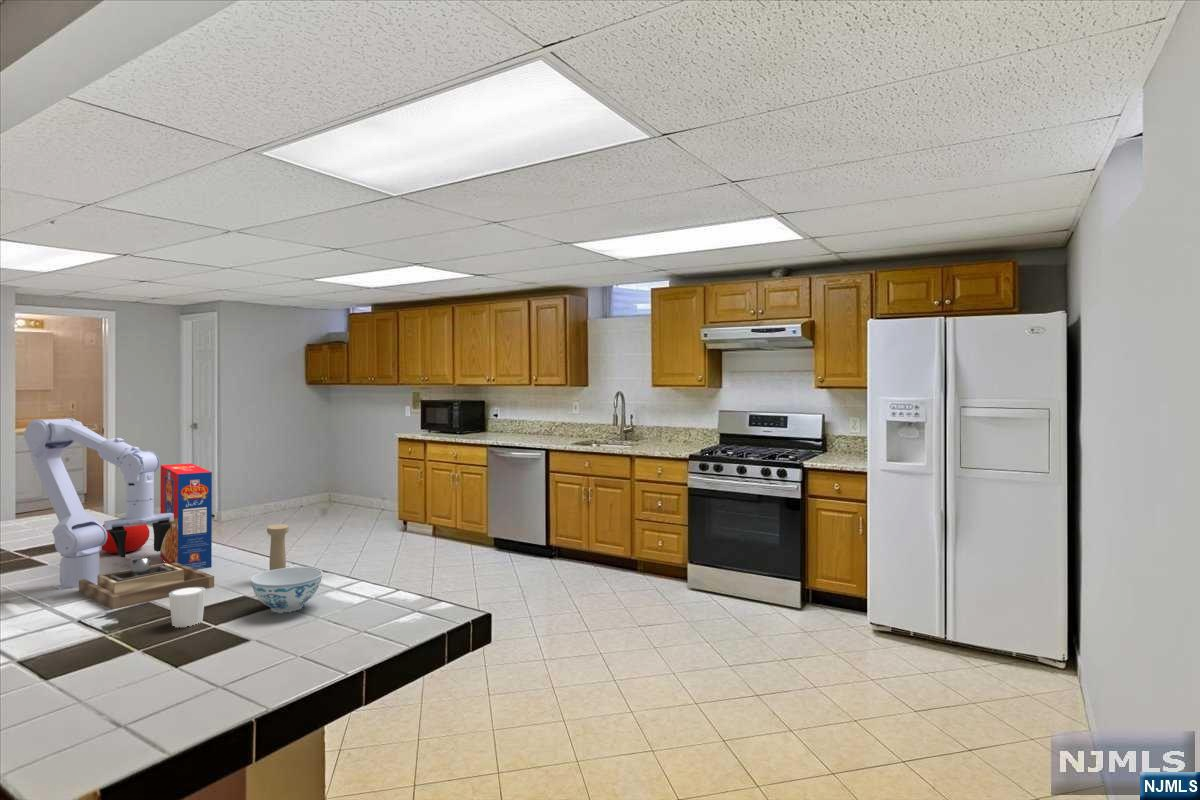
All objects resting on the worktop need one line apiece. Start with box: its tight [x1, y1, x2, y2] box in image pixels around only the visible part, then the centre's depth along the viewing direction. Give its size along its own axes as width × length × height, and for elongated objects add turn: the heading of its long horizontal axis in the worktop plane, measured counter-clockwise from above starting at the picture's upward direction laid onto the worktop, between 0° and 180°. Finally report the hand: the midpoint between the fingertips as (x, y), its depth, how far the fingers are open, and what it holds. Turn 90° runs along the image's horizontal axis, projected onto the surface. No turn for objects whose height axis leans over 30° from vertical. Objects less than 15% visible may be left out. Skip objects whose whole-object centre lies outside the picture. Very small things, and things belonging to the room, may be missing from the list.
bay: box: [78, 562, 215, 610], centre depth 163 cm, size 22×21×4 cm
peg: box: [130, 555, 151, 577], centre depth 165 cm, size 4×4×6 cm
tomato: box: [101, 522, 150, 554], centre depth 205 cm, size 14×13×10 cm
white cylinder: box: [168, 587, 207, 628], centre depth 143 cm, size 7×7×7 cm
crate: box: [96, 562, 185, 595], centre depth 165 cm, size 11×15×4 cm
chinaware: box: [250, 566, 323, 614], centre depth 153 cm, size 15×15×8 cm
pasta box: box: [159, 463, 213, 570], centre depth 191 cm, size 28×8×28 cm, turn 42°
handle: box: [266, 523, 289, 571], centre depth 173 cm, size 5×6×15 cm
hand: (140, 553), depth 165 cm, fingers open, 7 cm apart
